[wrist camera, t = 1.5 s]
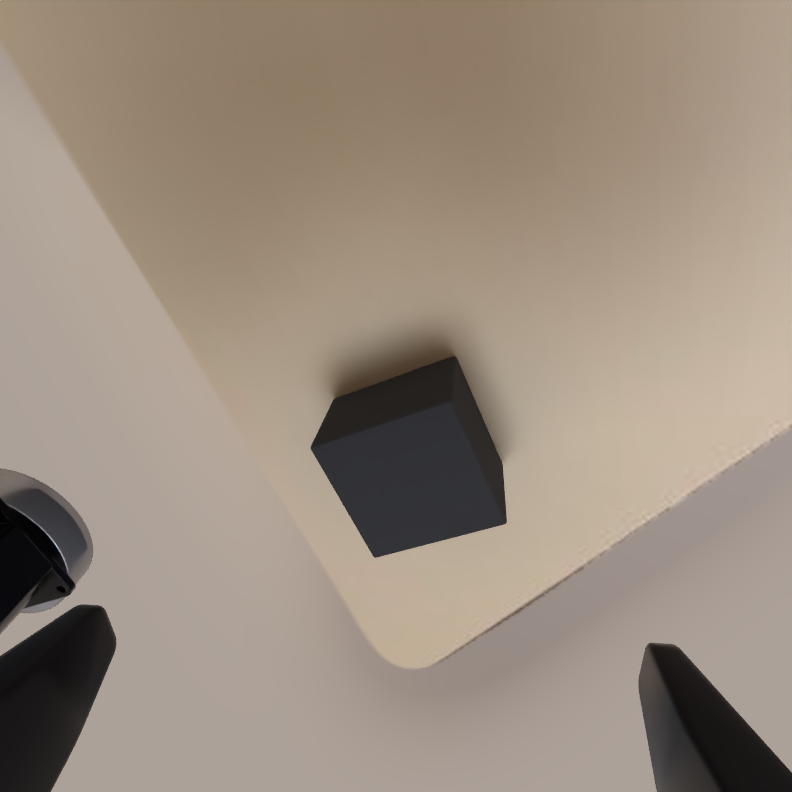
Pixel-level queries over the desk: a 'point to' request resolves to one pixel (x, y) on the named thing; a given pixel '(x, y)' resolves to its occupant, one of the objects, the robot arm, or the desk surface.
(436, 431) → the black cube
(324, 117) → the desk surface
